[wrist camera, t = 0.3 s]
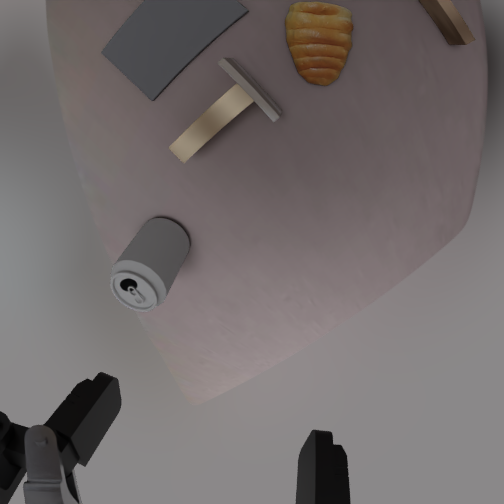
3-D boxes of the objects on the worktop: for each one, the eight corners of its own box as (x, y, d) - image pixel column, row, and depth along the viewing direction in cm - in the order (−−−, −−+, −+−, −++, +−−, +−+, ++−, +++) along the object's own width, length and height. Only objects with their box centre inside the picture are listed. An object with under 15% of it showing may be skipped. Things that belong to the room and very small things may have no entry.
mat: (103, 52, 27) (100, 52, 26) (188, -38, 20) (186, -39, 19) (154, 100, 30) (151, 101, 30) (248, 11, 23) (247, 10, 23)
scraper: (212, 167, 35) (201, 181, 31) (166, 121, 32) (150, 130, 28) (282, 110, 30) (279, 117, 26) (232, 58, 27) (223, 57, 23)
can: (169, 205, 39) (129, 260, 29) (201, 246, 42) (174, 307, 33) (134, 228, 42) (94, 282, 32) (165, 264, 45) (135, 322, 36)
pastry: (348, 87, 27) (354, 90, 24) (285, 82, 28) (284, 84, 25) (349, 8, 22) (356, 2, 19) (285, 3, 23) (283, -4, 20)
